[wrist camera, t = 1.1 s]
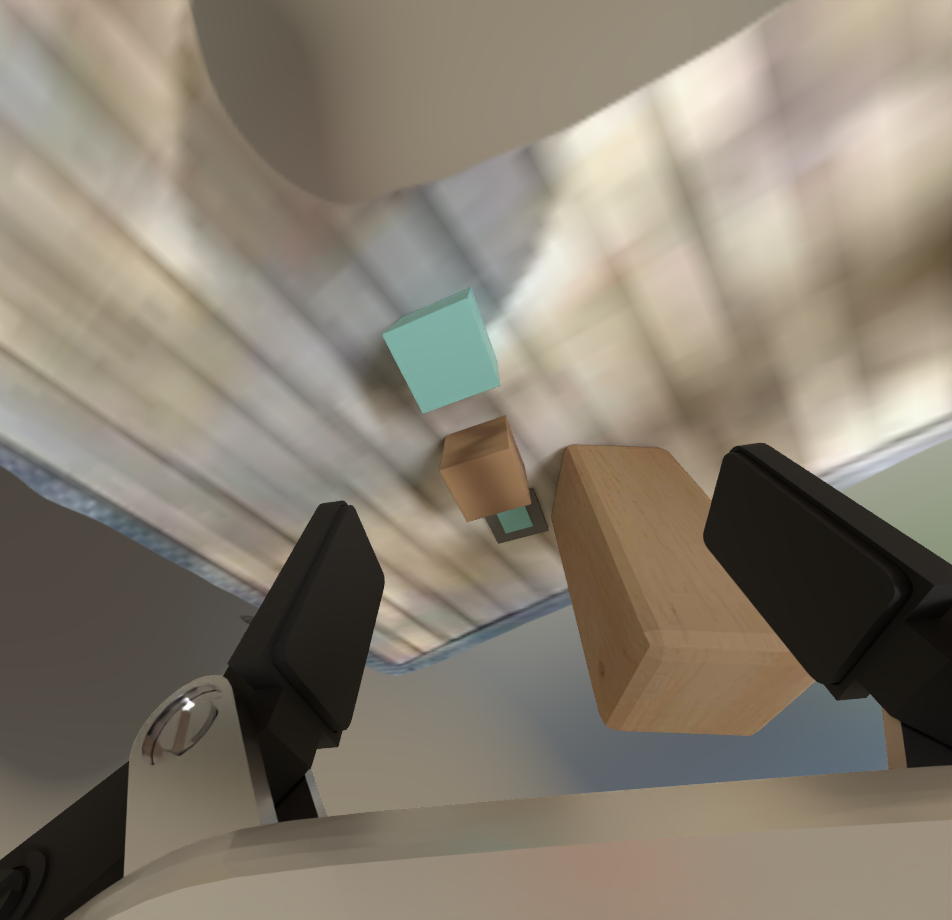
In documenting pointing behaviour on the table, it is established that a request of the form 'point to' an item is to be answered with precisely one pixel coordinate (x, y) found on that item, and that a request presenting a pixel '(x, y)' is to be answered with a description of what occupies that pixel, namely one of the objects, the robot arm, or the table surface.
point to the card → (518, 521)
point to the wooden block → (662, 601)
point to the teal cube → (444, 351)
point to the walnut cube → (485, 470)
